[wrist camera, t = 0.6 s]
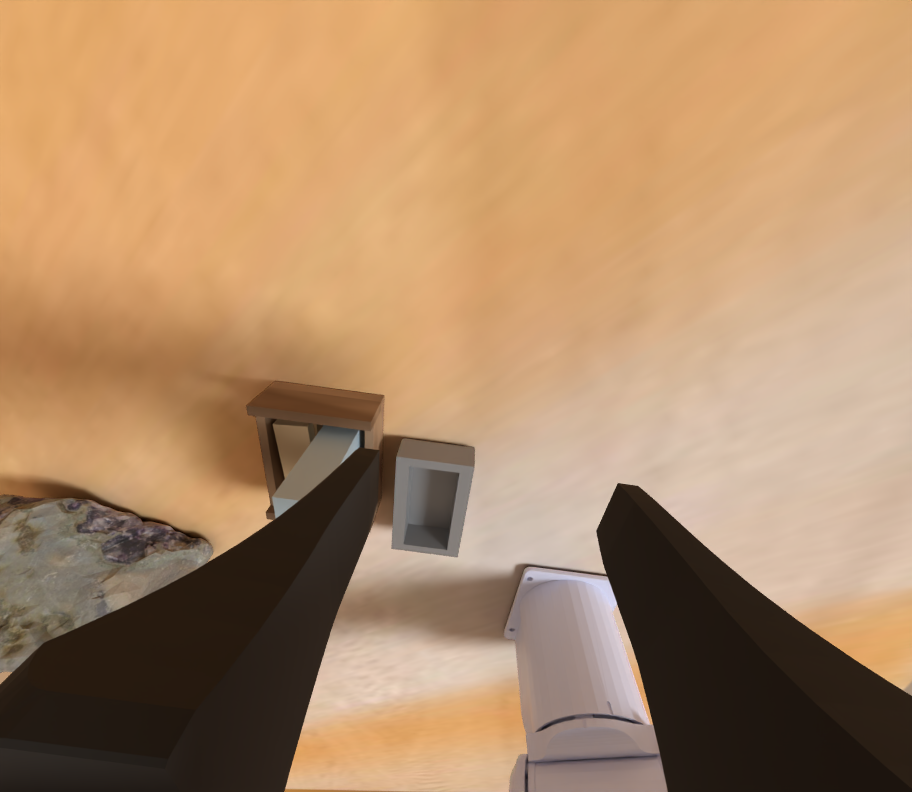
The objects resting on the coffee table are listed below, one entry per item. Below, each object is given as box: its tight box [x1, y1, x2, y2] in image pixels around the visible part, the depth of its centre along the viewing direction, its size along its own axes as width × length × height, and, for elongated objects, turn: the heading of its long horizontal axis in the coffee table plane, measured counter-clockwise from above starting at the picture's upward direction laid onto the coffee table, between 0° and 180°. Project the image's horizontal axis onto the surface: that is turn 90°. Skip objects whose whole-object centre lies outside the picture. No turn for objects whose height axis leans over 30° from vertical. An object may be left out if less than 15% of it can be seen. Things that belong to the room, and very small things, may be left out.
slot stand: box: [391, 438, 475, 557], centre depth 23 cm, size 8×5×2 cm, turn 173°
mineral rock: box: [0, 495, 213, 673], centre depth 23 cm, size 13×11×10 cm
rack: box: [246, 381, 384, 532], centre depth 22 cm, size 8×7×3 cm
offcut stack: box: [273, 419, 322, 478], centre depth 22 cm, size 6×2×1 cm, turn 173°
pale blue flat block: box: [272, 425, 365, 518], centre depth 19 cm, size 6×2×7 cm, turn 173°
